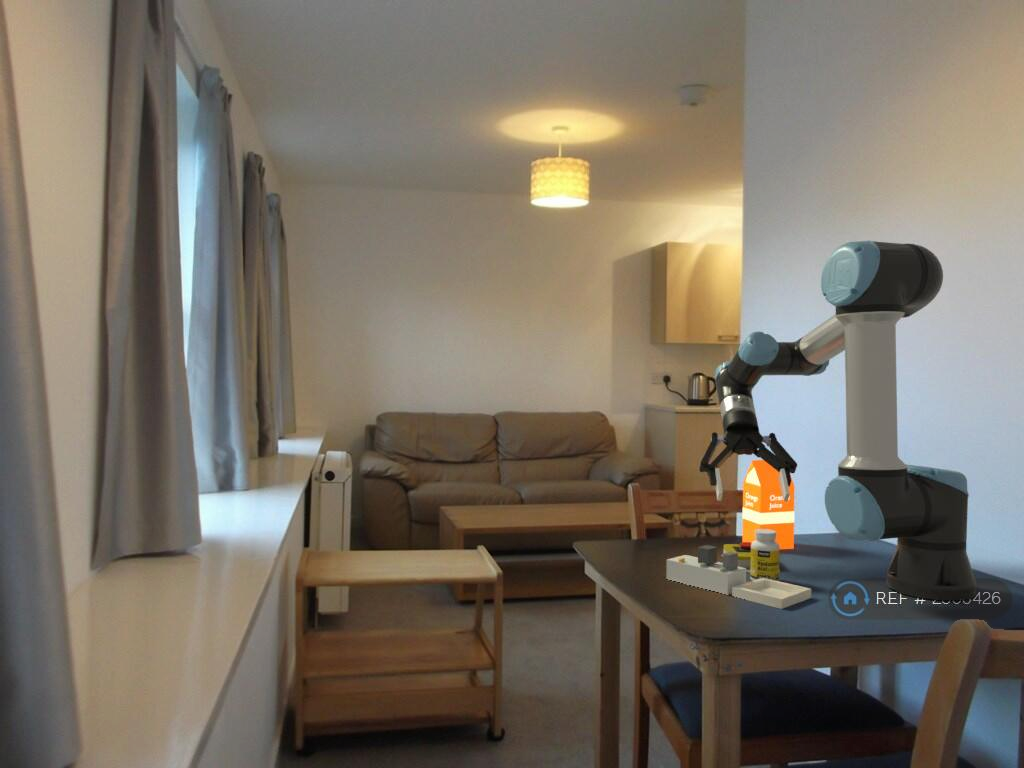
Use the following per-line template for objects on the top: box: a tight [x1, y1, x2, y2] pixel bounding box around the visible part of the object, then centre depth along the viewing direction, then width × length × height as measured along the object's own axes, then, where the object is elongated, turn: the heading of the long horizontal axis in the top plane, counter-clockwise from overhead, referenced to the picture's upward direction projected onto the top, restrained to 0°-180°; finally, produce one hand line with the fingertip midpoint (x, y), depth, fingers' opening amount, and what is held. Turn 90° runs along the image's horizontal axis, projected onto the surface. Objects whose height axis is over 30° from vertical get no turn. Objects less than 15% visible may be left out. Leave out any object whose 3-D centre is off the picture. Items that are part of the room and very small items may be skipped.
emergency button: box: [721, 542, 781, 573], centre depth 178 cm, size 9×4×15 cm
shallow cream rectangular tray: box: [731, 578, 812, 610], centre depth 153 cm, size 10×10×2 cm
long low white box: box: [666, 552, 747, 596], centre depth 162 cm, size 14×6×7 cm, turn 41°
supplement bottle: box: [749, 529, 781, 582], centre depth 164 cm, size 5×5×10 cm
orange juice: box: [741, 459, 796, 550], centre depth 194 cm, size 8×9×20 cm
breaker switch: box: [697, 544, 718, 565], centre depth 161 cm, size 2×3×3 cm
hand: (753, 497), depth 175 cm, fingers open, 13 cm apart
